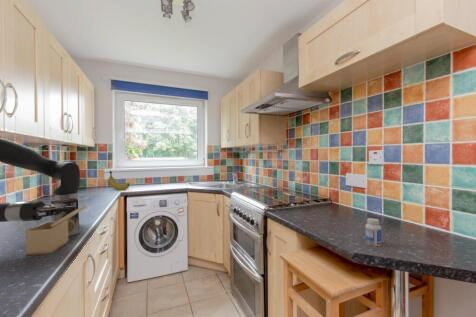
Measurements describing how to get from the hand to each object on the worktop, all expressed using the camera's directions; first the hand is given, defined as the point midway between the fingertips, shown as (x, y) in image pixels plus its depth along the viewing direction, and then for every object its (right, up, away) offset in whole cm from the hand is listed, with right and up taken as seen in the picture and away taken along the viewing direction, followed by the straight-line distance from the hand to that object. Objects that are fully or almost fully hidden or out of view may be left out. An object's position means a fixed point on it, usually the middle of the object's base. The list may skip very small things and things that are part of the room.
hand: (75, 208), depth 87 cm
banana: (-58, -13, +139) cm, 151 cm away
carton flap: (-6, -5, -1) cm, 8 cm away
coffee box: (-14, -15, +13) cm, 24 cm away
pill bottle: (+119, -14, 0) cm, 120 cm away
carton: (-10, -15, -1) cm, 18 cm away
